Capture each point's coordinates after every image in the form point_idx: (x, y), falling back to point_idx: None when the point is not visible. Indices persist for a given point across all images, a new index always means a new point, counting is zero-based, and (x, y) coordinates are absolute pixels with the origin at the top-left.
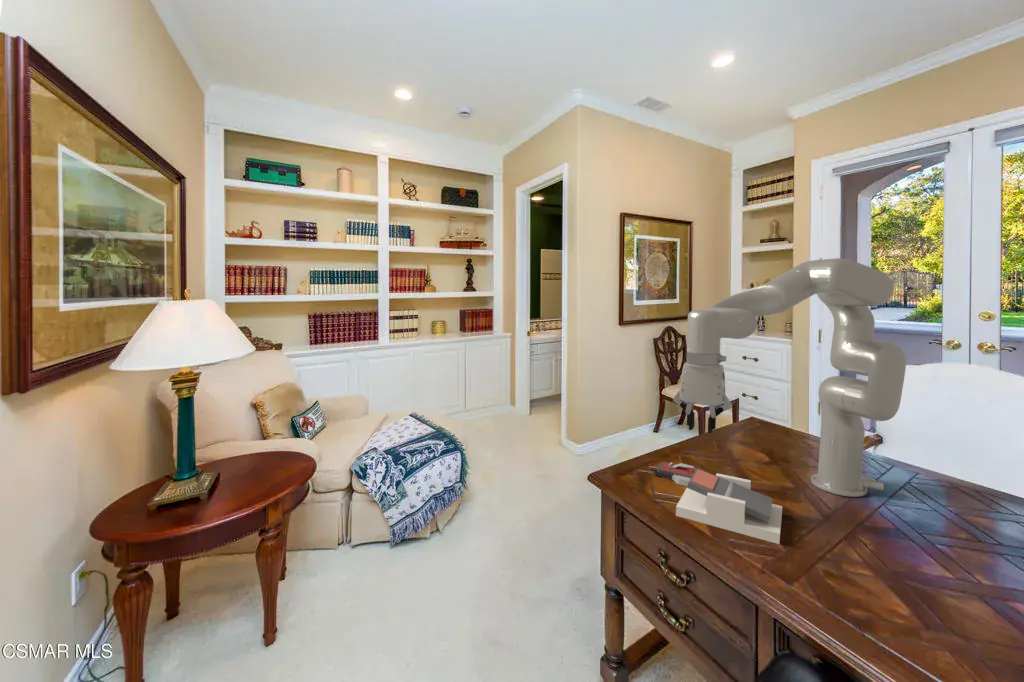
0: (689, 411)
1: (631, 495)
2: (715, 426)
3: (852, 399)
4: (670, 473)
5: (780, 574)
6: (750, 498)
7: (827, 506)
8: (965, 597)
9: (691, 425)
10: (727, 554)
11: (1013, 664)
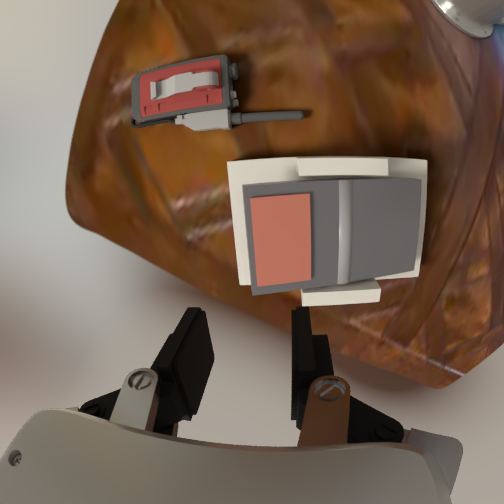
0: (170, 431)
1: (144, 247)
2: (327, 338)
3: None
4: (167, 116)
5: (400, 336)
6: (386, 229)
7: (467, 83)
8: None
9: (206, 373)
10: (341, 335)
11: None
